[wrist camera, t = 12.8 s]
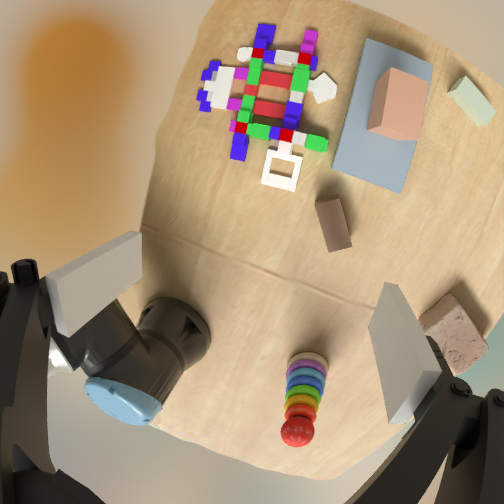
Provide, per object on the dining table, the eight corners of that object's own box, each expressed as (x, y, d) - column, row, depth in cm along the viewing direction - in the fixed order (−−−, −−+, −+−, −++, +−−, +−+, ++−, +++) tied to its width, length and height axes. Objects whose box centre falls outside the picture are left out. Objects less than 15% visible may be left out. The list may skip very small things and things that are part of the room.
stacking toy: (337, 367, 49) (334, 448, 32) (306, 385, 53) (293, 462, 36) (310, 343, 49) (298, 426, 32) (279, 363, 52) (258, 441, 35)
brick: (414, 320, 43) (421, 336, 39) (449, 288, 40) (459, 302, 35) (452, 362, 44) (459, 377, 40) (482, 336, 41) (491, 350, 36)
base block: (330, 167, 39) (331, 168, 35) (362, 46, 31) (366, 37, 27) (393, 190, 38) (400, 194, 34) (424, 71, 30) (433, 65, 26)
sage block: (476, 126, 30) (486, 125, 27) (446, 93, 30) (455, 89, 26) (485, 113, 28) (496, 111, 25) (456, 80, 28) (466, 75, 25)
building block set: (218, 24, 34) (207, 13, 30) (348, 42, 31) (351, 31, 27) (187, 166, 44) (173, 168, 40) (314, 196, 41) (313, 201, 37)
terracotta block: (366, 130, 32) (381, 125, 25) (375, 82, 29) (390, 66, 22) (397, 140, 32) (419, 139, 24) (406, 93, 29) (428, 81, 22)
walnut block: (328, 244, 42) (328, 252, 39) (315, 200, 41) (314, 205, 37) (350, 239, 41) (352, 246, 38) (337, 194, 39) (339, 198, 36)
